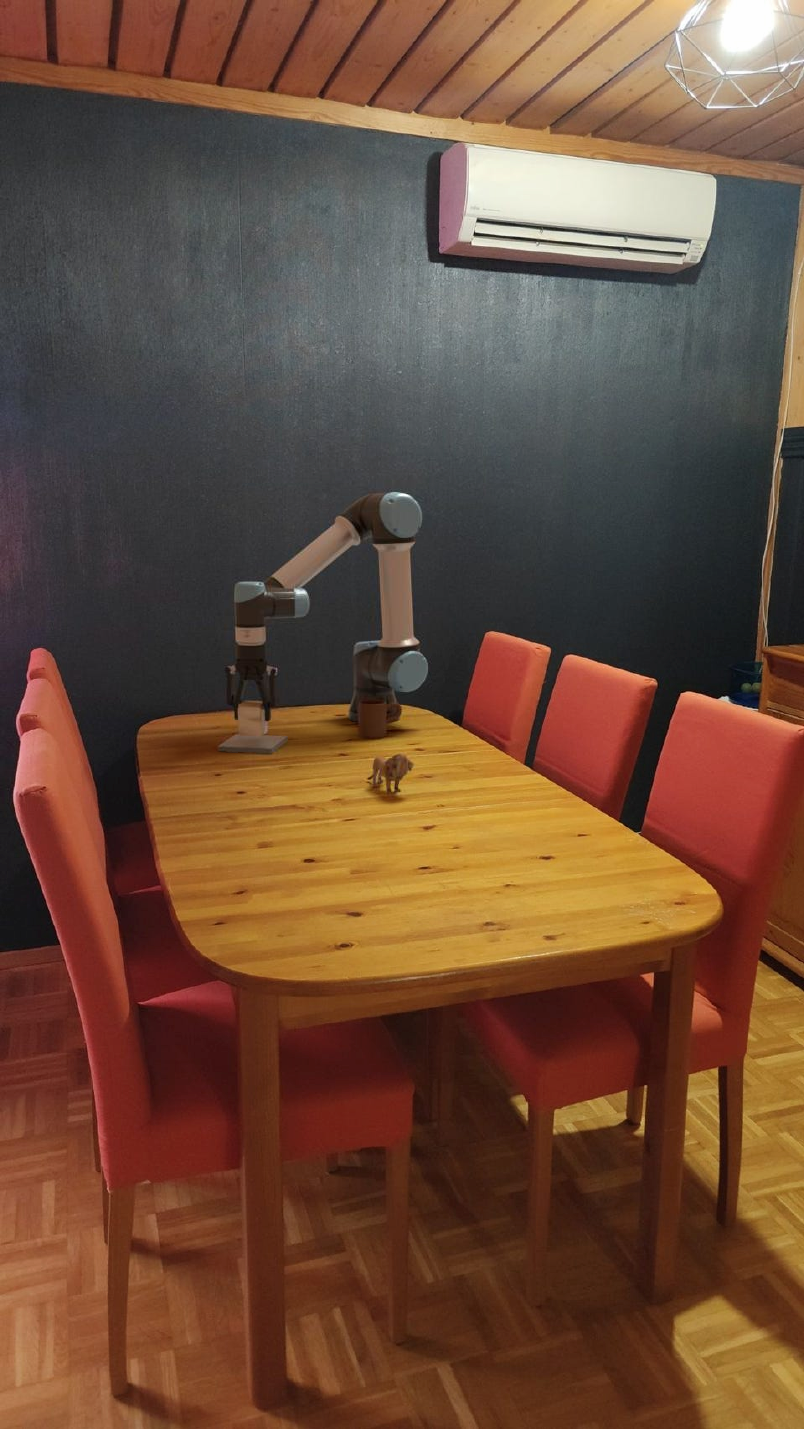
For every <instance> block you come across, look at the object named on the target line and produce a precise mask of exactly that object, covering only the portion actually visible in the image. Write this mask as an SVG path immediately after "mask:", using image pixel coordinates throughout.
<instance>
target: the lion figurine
mask: <svg viewBox="0 0 804 1429" xmlns="http://www.w3.org/2000/svg"><path fill="white" fill-rule="evenodd" d="M414 765H415V763H414V762H412V761H410V759H409V758H408V756H407V754H406V753H398V754H395V755H393V756H391V757H389V758H388V759H387V758H386V757H385V756H383V755H378V756H376V757H375V758H374V759H373V763H372V772H373V773H372V774H371V776H369V777H366V779H367V780H372V783H371V784H372V785H371V787H372V788H377V787H378V784H377V782H378V783H383V782H384V780H383V779H382V777H384V778H385V786H386V787H385V788H386V792H385V793H386V794H387V795H392V793H393V792H392V787H391V784H392V782H394V786H393V789H394V792H397V793H400V792H401V791H402V789H401V788H399V785H400V781H401V780H403V778H404V777H405V776H407V774H408V772H412V768H414Z"/></svg>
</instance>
